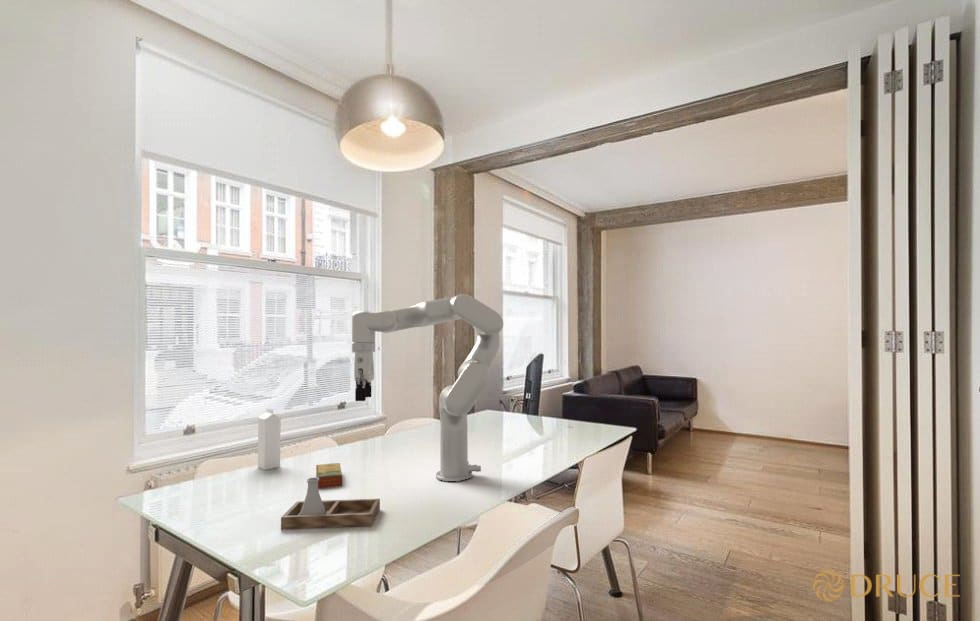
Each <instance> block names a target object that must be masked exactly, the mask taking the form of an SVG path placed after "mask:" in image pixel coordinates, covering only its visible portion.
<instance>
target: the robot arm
mask: <svg viewBox="0 0 980 621" xmlns="http://www.w3.org/2000/svg"><path fill="white" fill-rule="evenodd" d="M351 317H352V318H351V319H352V320H351V323H352V324H351V328H352V329H351V334H352V336H351V352H352V353H354V368H353V369H354V370H353V371H354V375H353V376H354V382H355V386H354V387H355V391H354V393H355V396H354V397H355V399H354V401H355V402H365V401H366V398H371V397H372V381H374V380H375V367H374V366H375V365H374V364H375V363H374V353H375V352H376V332H378V333H384V334H387V333H388V334H389V333H393V332H397V331H398V332H399V331H402V330H407V329H413V328H425V327H429V326H433V325H439V324H443V323H445V324H446V323H449V322H453V321H454V322H455V321H458V320H463V321H465V323H468V324H469V325H471V326H472V327H473V328H474V329H475V333H476V337H477V338H476V342H475V343H474V346H473V348H472V349H471V351H470V352H469V354H468V355H467V357H466V358H465V359H464V361H462V362H463V363H462V364H461V365H460V366H459V368H458V370H457V377H458V378H457V379H456V381H455V382H454V384H452V385H451V384H450V385H448V386H446V387H444V388H443V389H442V390H441V392H440V394H439V397H438V408H439V424H440V425H439V431H440V432H439V433H440V434H439V435H440V436H439V438H440V440H439V441H440V442H439V444H440V445H439V446H440V450H439V451H440V452H439V453H440V454H439V456H440V457H439V458H440V465H439V466H440V470H439V471H438V472H436V473H435V478H436V479H437V480H439V481H441V480H442V482H448V481H456V482H462V481H461V480H464V481H466V480H465V479H467V480H469V479H468V478H470V477H471V478H472V477H473V472H481V470H482V468H481V467H482V466H481V465H478V464H470V462H469V460H468V459H469V457H468V454H469V453H468V452H469V451H468V450H469V449H468V447H469V446H468V441H469V440H468V413H469V412H470V411H471V410H472V408H473V407H474V405H475V404H476V403H477V401H478V399H479V398H480V396H481V395H482V393H483V392H484V390H486V387H487V385H488V383H489V381H490V376H491V374H490V370H489V368H490V367H491V365H492V363H493V362H494V361H495V359H496V357H497V354H498V352H499V350H500V343H501V341H500V340H501V339H500V337H501V336H500V333H501V331H502V330H503V328H504V319H503V317H502V315H501V314H500V313H499V312H498V311H496V310H494V309H493V308H491V307H489V306H487V305H486V304H485V303H483V302H481V301H480V300H478V299H476V298H474V297H473V296H471V295H470V294H466V293H459V294H457V295H454V296H448V297H443V298H439V299H433V300H426V301H423V302H419V303H417V304H416V305H415V304H414V305H412V306H407V307H404V308H400V309H394V310H381V311H367V310H365V311H361V310H360V311H355V312H353V313H352V316H351ZM471 478H470V479H471Z"/></svg>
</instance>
